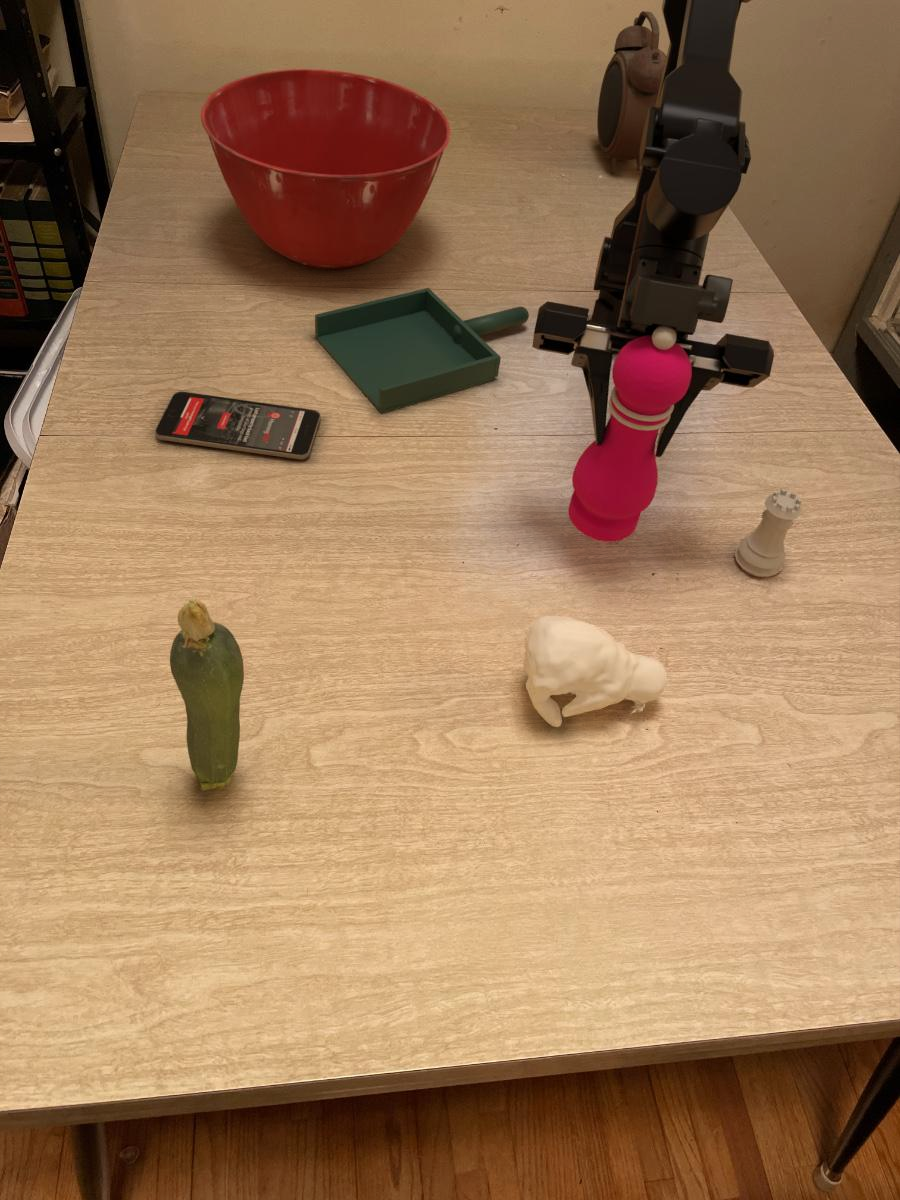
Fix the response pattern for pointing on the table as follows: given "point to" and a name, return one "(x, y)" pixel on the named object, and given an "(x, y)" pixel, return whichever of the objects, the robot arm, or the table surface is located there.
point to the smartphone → (239, 425)
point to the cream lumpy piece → (585, 669)
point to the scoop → (412, 347)
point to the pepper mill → (629, 437)
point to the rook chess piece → (769, 536)
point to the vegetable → (208, 693)
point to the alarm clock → (630, 90)
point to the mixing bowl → (325, 160)
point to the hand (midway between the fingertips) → (628, 450)
